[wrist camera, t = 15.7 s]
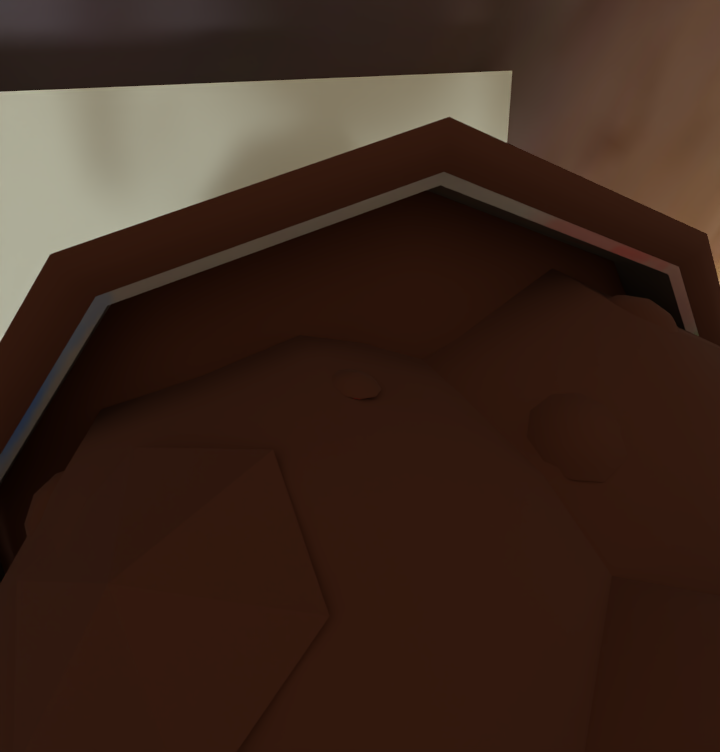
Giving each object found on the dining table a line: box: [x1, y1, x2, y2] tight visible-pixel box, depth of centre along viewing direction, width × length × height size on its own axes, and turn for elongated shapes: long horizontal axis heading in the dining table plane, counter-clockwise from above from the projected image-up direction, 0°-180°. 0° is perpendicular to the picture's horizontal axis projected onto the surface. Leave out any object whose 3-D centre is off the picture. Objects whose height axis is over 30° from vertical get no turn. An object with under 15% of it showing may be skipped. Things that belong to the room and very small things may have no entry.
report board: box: [0, 71, 512, 341], centre depth 17 cm, size 16×13×1 cm
